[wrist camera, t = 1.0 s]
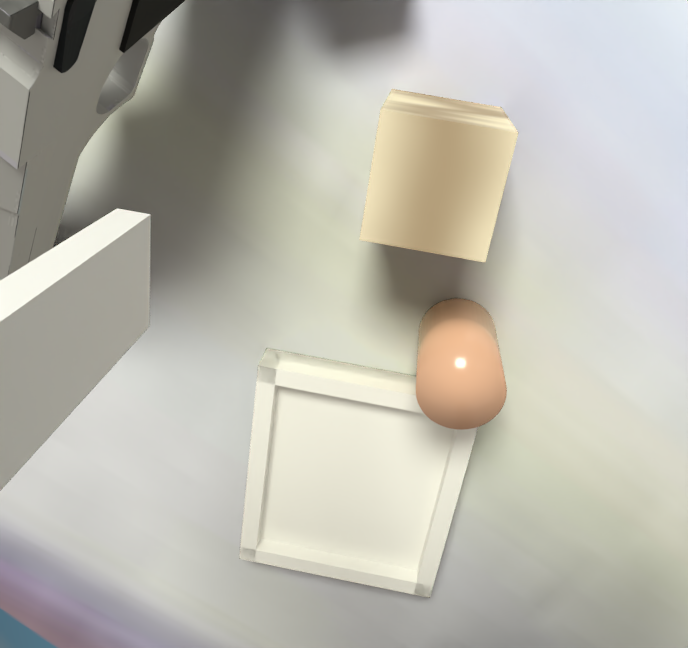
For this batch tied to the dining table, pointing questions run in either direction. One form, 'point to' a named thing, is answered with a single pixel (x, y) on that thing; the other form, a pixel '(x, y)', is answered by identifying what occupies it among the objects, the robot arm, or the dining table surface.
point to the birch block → (437, 175)
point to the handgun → (60, 103)
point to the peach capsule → (459, 365)
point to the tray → (349, 474)
